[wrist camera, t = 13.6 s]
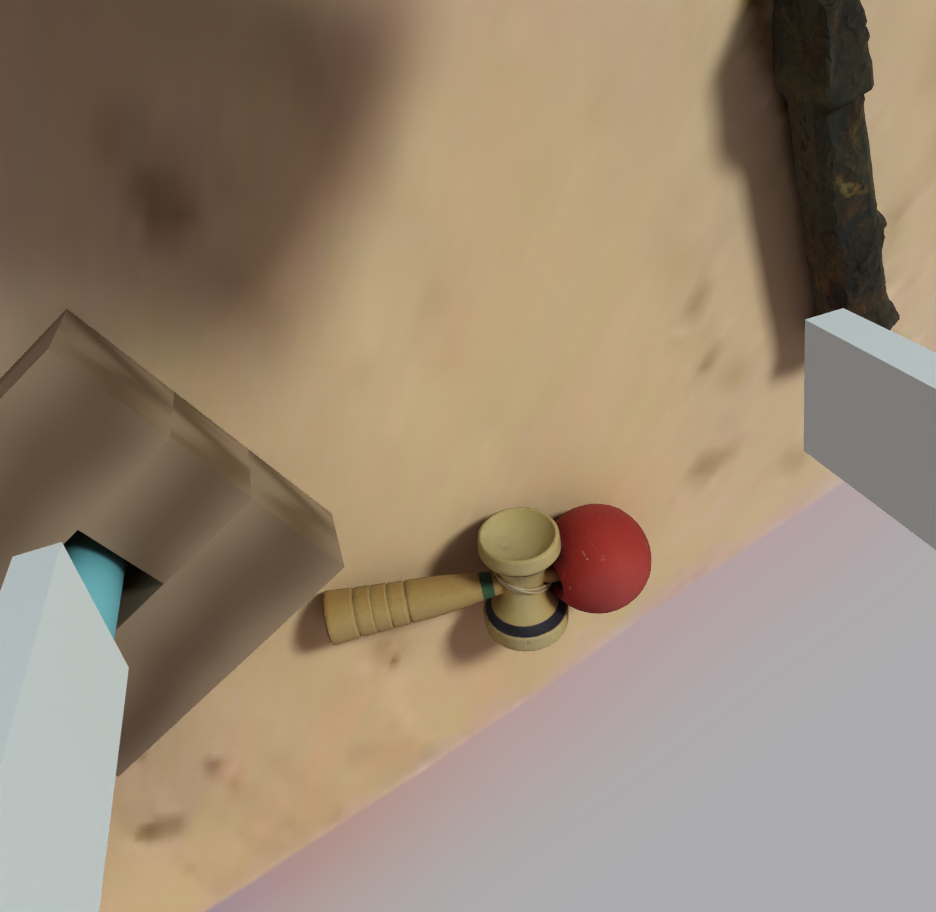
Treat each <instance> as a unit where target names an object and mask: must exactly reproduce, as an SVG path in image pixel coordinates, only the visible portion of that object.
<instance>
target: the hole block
mask: <svg viewBox="0 0 936 912" xmlns="http://www.w3.org/2000/svg"><path fill="white" fill-rule="evenodd" d="M77 530H79V531H81V532H82V533H84V534H85V535H87V536H89V537H90V538H92V539H93V540H95V541H96V542H98V543H100V544H101V545H103V546H104V547H106V548H108V549H109V550H111V551H112V552H114V553H116V554H117V555H119V556H120V557H122V558H123V559H125V560H127V561H128V562H130V563H131V564H130V565H128V566H127V567H126V568H125V575H124V581H123V587H122V594H121V600H120V606H119V612H118V619H117V625H116V631H115V638H114V641H115V643H116V645H117V646H118V648H119V650H120V652H121V654H122V656H123V658H124V660H125V661H126V663H127V665H128V667H129V670H128V679H127V687H126V695H125V703H124V711H123V720H122V728H121V736H120V744H119V752H118V761H117V769H116V776H119V775H121V774H122V773H123V772H124V771H125V770H126V769H127V768H128V767H129V766H130V765H131V764H132V763H134V762H135V761H136V760H137V759H138V758H139V757H140V756H141V755H142V754H143V753H144V752H145V751H146V750H148V749H149V748H150V747H151V746H152V745H153V744H154V743H155V742H156V741H157V740H158V739H159V738H160V737H162V736H163V735H164V734H165V733H166V732H167V731H168V730H169V729H170V728H171V727H172V726H173V725H175V724H176V723H177V722H178V721H179V720H180V719H181V718H182V717H183V716H184V715H185V714H186V713H187V712H189V711H190V710H191V709H192V708H193V707H194V706H195V705H196V704H197V703H198V702H199V701H200V700H202V699H203V698H204V697H205V696H206V695H207V694H208V693H209V692H210V691H211V690H212V689H213V688H214V687H216V686H217V685H218V684H219V683H220V682H221V681H222V680H223V679H224V678H225V677H226V676H227V675H228V674H230V673H231V672H232V671H233V670H234V669H235V668H236V667H237V666H238V665H239V664H240V663H241V662H243V661H244V660H245V659H246V658H247V657H248V656H249V655H250V654H251V653H252V652H253V651H254V650H255V649H257V648H258V647H259V646H260V645H261V644H262V643H263V642H264V641H265V640H266V639H267V638H268V637H270V636H271V635H272V634H273V633H274V632H275V631H276V630H277V629H278V628H279V627H280V626H281V625H282V624H284V623H285V622H286V621H287V620H288V619H289V618H290V617H291V616H292V615H293V614H294V613H295V612H296V611H298V610H299V609H300V608H301V607H302V606H303V605H304V604H305V603H306V602H307V601H308V600H309V599H311V598H312V597H313V596H314V595H315V594H316V593H317V592H318V591H319V590H320V589H321V588H322V587H323V586H325V585H326V584H327V583H328V582H329V581H330V580H331V579H332V578H333V577H334V576H335V575H336V574H337V573H339V572H340V571H341V570H342V569H343V568H344V564H343V560H342V555H341V551H340V547H339V543H338V539H337V534H336V530H335V526H334V522H333V518H332V514H331V513H330V512H329V511H327V510H326V509H325V508H323V507H322V506H321V505H319V504H318V503H317V502H316V501H314V500H313V499H312V498H310V497H309V496H308V495H307V494H305V493H304V492H303V491H301V490H300V489H299V488H297V487H296V486H295V485H294V484H292V483H291V482H290V481H288V480H287V479H286V478H285V477H283V476H282V475H281V474H279V473H278V472H277V471H275V470H274V469H273V468H272V467H270V466H269V465H268V464H266V463H265V462H264V461H263V460H261V459H260V458H259V457H257V456H256V455H255V454H254V453H252V452H251V451H250V450H248V449H247V448H246V447H244V446H243V445H242V444H241V443H239V442H238V441H237V440H235V439H234V438H233V437H232V436H230V435H229V434H228V433H226V432H225V431H224V430H222V429H221V428H220V427H219V426H217V425H216V424H215V423H213V422H212V421H211V420H210V419H208V418H207V417H206V416H204V415H203V414H202V413H201V412H199V411H198V410H197V409H195V408H194V407H193V406H191V405H190V404H189V403H188V402H186V401H185V400H184V399H182V398H181V397H180V396H179V395H177V394H176V393H175V392H173V391H172V390H171V389H169V388H168V387H167V386H166V385H164V384H163V383H162V382H160V381H159V380H158V379H157V378H155V377H154V376H153V375H151V374H150V373H149V372H148V371H146V370H145V369H144V368H142V367H141V366H140V365H138V364H137V363H136V362H135V361H133V360H132V359H131V358H129V357H128V356H127V355H126V354H124V353H123V352H122V351H120V350H119V349H118V348H116V347H115V346H114V345H113V344H111V343H110V342H109V341H107V340H106V339H105V338H104V337H102V336H101V335H100V334H98V333H97V332H96V331H95V330H93V329H92V328H91V327H89V326H88V325H87V324H85V323H84V322H83V321H82V320H80V319H79V318H78V317H76V316H75V315H74V314H73V313H71V312H70V311H69V310H67V309H66V311H65V312H64V313H63V314H62V315H61V316H60V317H59V318H58V319H57V320H56V321H55V322H54V323H53V324H52V325H51V326H50V327H49V328H48V329H47V330H46V332H45V333H44V334H43V335H42V336H41V337H40V338H39V339H38V340H37V341H36V342H35V343H34V344H33V345H32V346H31V347H30V348H29V349H28V350H27V351H26V352H25V354H24V355H23V356H22V357H21V358H20V359H19V360H18V361H17V362H16V363H15V364H14V365H13V366H12V367H11V368H10V369H9V370H8V371H7V372H6V373H5V375H4V376H3V377H2V378H1V379H0V590H1V587H2V585H3V582H4V579H5V576H6V573H7V571H8V568H9V565H10V562H11V559H12V557H13V556H16V555H20V554H23V553H26V552H30V551H33V550H36V549H40V548H43V547H46V546H50V545H53V544H56V543H60V542H62V543H63V544H64V543H65V542H66V541H67V540H68V539H69V538H70V537H71V536H72V535H73V534H74V533H75V532H76V531H77Z"/></svg>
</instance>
